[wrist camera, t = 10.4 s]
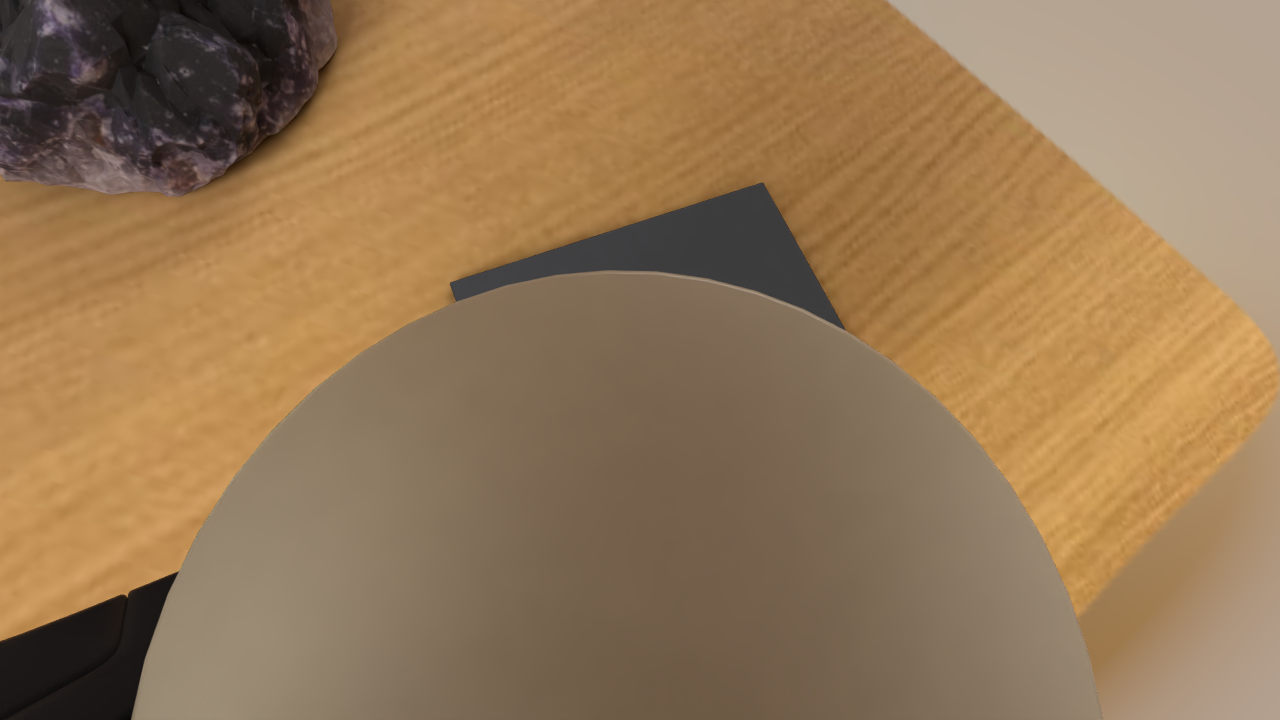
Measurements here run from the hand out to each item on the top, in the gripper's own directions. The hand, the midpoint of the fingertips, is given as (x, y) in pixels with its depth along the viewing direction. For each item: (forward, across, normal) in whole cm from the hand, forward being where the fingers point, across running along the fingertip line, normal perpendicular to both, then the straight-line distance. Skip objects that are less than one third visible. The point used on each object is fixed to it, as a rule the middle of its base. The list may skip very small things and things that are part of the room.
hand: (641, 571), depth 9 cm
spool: (+2, 0, +4) cm, 5 cm away
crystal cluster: (+20, +20, -2) cm, 28 cm away
